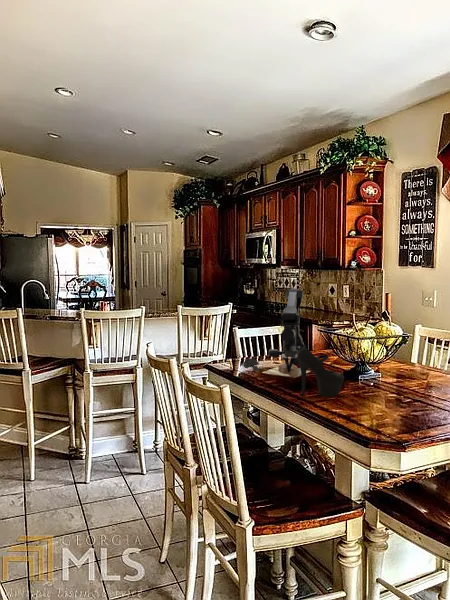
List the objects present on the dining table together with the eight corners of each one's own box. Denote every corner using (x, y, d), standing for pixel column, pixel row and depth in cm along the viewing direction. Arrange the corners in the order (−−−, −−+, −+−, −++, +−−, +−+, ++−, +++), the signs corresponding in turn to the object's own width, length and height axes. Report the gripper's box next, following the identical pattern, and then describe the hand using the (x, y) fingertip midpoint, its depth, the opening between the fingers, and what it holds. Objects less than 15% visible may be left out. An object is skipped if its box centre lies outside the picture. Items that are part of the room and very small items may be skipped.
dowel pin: (298, 374, 235) (299, 367, 234) (302, 374, 234) (302, 368, 233) (297, 375, 233) (297, 368, 233) (300, 375, 232) (300, 368, 232)
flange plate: (278, 370, 242) (278, 363, 242) (292, 369, 244) (292, 363, 244) (288, 377, 229) (288, 370, 229) (302, 376, 231) (302, 369, 230)
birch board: (278, 368, 252) (278, 366, 252) (311, 373, 241) (311, 371, 241) (261, 374, 239) (261, 372, 239) (295, 380, 228) (295, 377, 228)
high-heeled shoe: (346, 397, 200) (346, 347, 199) (299, 398, 199) (299, 348, 198) (340, 391, 208) (340, 344, 207) (294, 392, 207) (295, 344, 205)
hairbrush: (249, 369, 239) (242, 356, 264) (249, 377, 240) (242, 363, 264) (266, 369, 240) (257, 356, 265) (266, 376, 241) (257, 363, 265)
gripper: (269, 340, 223) (268, 375, 224) (312, 341, 222) (311, 376, 223) (269, 337, 234) (268, 370, 235) (309, 338, 233) (308, 371, 234)
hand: (288, 372), depth 232 cm, fingers closed
